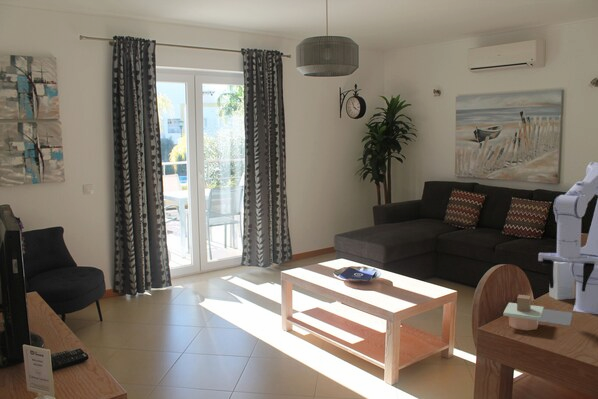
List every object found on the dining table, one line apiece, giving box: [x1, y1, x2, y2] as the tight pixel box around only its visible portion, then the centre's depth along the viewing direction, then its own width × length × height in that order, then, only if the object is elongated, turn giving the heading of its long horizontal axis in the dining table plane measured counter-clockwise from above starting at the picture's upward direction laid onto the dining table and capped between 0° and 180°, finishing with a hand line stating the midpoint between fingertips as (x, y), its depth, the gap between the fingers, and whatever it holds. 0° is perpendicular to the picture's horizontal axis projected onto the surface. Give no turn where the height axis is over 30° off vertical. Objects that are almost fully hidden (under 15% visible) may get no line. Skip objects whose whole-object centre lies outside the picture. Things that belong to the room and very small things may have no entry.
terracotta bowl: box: [508, 316, 539, 331], centre depth 142 cm, size 7×7×4 cm
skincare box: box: [548, 262, 576, 301], centre depth 163 cm, size 6×4×12 cm
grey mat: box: [538, 308, 574, 327], centre depth 148 cm, size 11×11×1 cm
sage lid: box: [502, 294, 545, 320], centre depth 142 cm, size 9×9×4 cm
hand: (567, 288), depth 142 cm, fingers open, 7 cm apart
